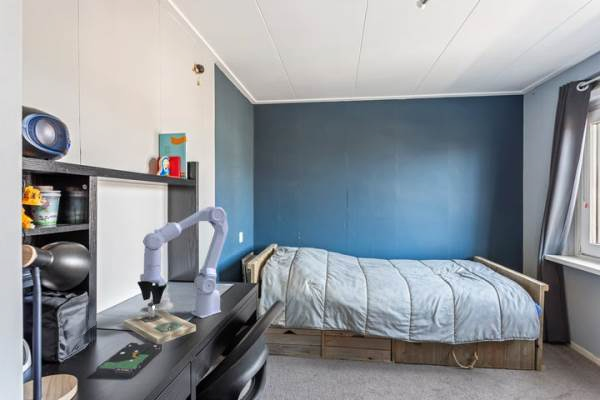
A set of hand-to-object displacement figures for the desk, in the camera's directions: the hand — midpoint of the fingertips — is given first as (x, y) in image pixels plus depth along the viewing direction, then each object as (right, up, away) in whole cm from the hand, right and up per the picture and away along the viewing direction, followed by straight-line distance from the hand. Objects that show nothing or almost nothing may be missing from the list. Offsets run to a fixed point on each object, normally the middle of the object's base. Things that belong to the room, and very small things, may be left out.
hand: (151, 301), depth 113 cm
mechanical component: (-5, -9, +17) cm, 20 cm away
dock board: (+5, -8, -4) cm, 10 cm away
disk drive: (+8, -9, -27) cm, 30 cm away
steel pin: (0, -8, 0) cm, 8 cm away
